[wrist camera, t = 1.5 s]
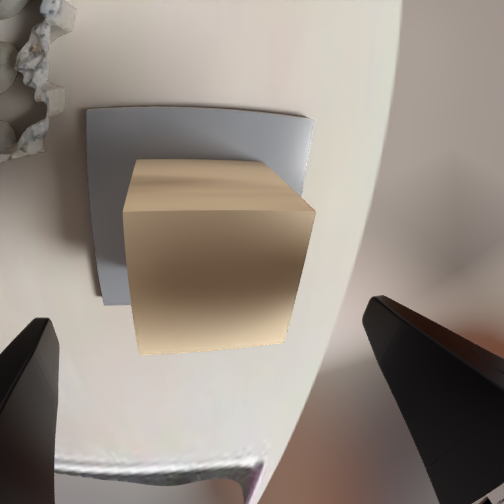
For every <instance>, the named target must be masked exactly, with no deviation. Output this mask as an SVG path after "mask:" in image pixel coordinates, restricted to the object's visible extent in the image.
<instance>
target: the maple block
mask: <svg viewBox="0 0 504 504" xmlns="http://www.w3.org/2000/svg"><path fill="white" fill-rule="evenodd" d="M315 214H316V211H315V210H314V209H313V208H312V207H311V206H310V205H309V204H308V203H307V202H306V201H305V200H304V199H303V198H301V197H300V196H299V195H298V194H297V193H296V192H295V191H294V190H293V189H292V188H291V187H290V186H289V185H288V184H286V183H285V182H284V181H283V180H282V179H281V178H280V177H279V176H278V175H277V174H276V173H275V172H273V171H272V170H271V169H270V168H269V167H268V166H267V165H266V164H265V163H263V162H257V161H237V160H207V159H137V160H136V163H135V167H134V170H133V174H132V177H131V181H130V185H129V189H128V192H127V196H126V200H125V204H124V208H123V227H124V241H125V253H126V264H127V273H128V282H129V291H130V299H131V306H132V314H133V320H134V327H135V333H136V339H137V345H138V351H139V355H154V354H173V353H189V352H202V351H214V350H225V349H235V348H245V347H254V346H262V345H270V344H278V343H284V340H285V337H286V333H287V329H288V325H289V322H290V318H291V314H292V310H293V306H294V302H295V299H296V295H297V291H298V287H299V283H300V278H301V274H302V270H303V266H304V262H305V258H306V254H307V249H308V245H309V241H310V236H311V232H312V227H313V223H314V218H315Z"/></svg>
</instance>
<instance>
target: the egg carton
mask: <svg viewBox="0 0 504 504" xmlns="http://www.w3.org/2000/svg"><path fill="white" fill-rule="evenodd" d="M28 1H29V0H0V20H1V19H7V18H10V17H13V16H14V15H16V14H17V13H18V12H20V11H21V10H22V9H23V8H24V6H25V5H26V4H27V2H28ZM39 9H40V13H41V14H42V15H43V16H44V17H45V20H44V21H43V22H41V23H39V24H37V25H35V26H34V27H32V30H31V34H30V38H29V41H28V42H27V43H26V44H25V45H24V46H23V48H22V49H21V50H20V51H19V53H18V51H17V49H16V48H15V47H14V46H13V45H12V44H11V43H7V42H0V93H3V92H5V91H6V90H7V89H8V88H9V87H10V86H11V85H12V84H13V82H14V81H15V79H16V77H17V74H18V71H19V72H21V73H22V74H23V76H24V79H23V82H24V84H25V85H27V86H29V87H32V88H34V89H35V93H34V100H35V102H43V103H45V104H46V106H47V115H46V118H45V119H43V120H41V121H39V122H37V123H34V124H32V125H31V126H29V127H28V128H27V129H26V130H25V131H24V132H23V134H22V136H21V138H20V139H19V141H18V142H17V140H16V136H15V133H14V131H13V129H12V128H11V126H10V125H9V124H8V123H7V122H6V121H2V120H0V163H1V162H4V161H8V160H11V159H15V158H19V157H23V156H27V155H34V154H38V153H42V152H45V151H46V149H45V148H44V147H43V139H44V136H45V134H46V132H47V131H48V129H49V118H51V117H52V116H54V115H56V114H59V113H61V112H63V111H64V104H65V88H64V87H59V86H55V85H53V84H51V83H50V82H49V81H48V80H47V79H48V75H49V65H48V61H47V58H46V54H47V52H48V49H49V46H50V44H51V43H52V42H53V41H54V40H56V39H57V38H58V37H60V36H61V35H64V34H66V33H69V32H71V31H72V29H73V27H74V21H75V16H76V8H75V7H74V6H72V5H70V4H69V3H68V2H66V1H65V0H42V2H41V5H40V7H39Z"/></svg>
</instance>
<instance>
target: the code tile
mask: <svg viewBox="0 0 504 504" xmlns="http://www.w3.org/2000/svg"><path fill="white" fill-rule="evenodd" d="M314 122H315V120H313V119H311V118H306V117H299V116H292V115H285V114H276V113H268V112H258V111H248V110H236V109H222V108H204V107H171V106H144V107H112V108H95V109H89V110H87V113H86V146H87V174H88V190H89V203H90V214H91V224H92V233H93V241H94V249H95V256H96V263H97V269H98V276H99V282H100V287H101V293H102V298H103V303H104V305H131V299H130V291H129V282H128V273H127V264H126V253H125V241H124V227H123V208H124V204H125V200H126V196H127V192H128V189H129V185H130V181H131V177H132V174H133V170H134V167H135V163H136V160H137V159H207V160H237V161H257V162H263V163H265V164H266V165H267V166H268V167H269V168H270V169H271V170H272V171H273V172H275V173H276V174H277V175H278V176H279V177H280V178H281V179H282V180H283V181H284V182H285V183H286V184H288V185H289V186H290V187H291V188H292V189H293V190H294V191H295V192H296V193H297V194H298V195H299V196H300V197H301V194H302V189H303V184H304V178H305V173H306V167H307V162H308V156H309V151H310V145H311V139H312V134H313V128H314Z"/></svg>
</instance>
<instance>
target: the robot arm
mask: <svg viewBox="0 0 504 504" xmlns="http://www.w3.org/2000/svg"><path fill="white" fill-rule="evenodd" d="M362 322H363V326H364V328H365V331H366V334H367V336H368V339H369V342H370V344H371V347H372V349H373V352H374V355H375V357H376V360H377V362H378V365H379V367H380V369H381V371H382V373H383V375H384V377H385V380H386V381H387V383H388V385H389V388H390V390H391V392H392V394H393V396H394V398H395V400H396V402H397V405H398V407H399V409H400V411H401V413H402V416H403V418H404V420H405V422H406V424H407V427H408V429H409V431H410V433H411V435H412V438H413V440H414V442H415V445H416V447H417V449H418V452H419V454H420V456H421V459H422V461H423V463H424V466H425V468H426V471H427V473H428V476H429V478H430V481H431V483H432V486H433V488H434V491H435V493H436V496H437V498H438V501H439V503H440V504H472V503H473V502H475V501H477V500H478V499H480V498H482V497H483V496H485V495H487V497H486V498H484V499H483V500H482V501H481V502H480V503H479V504H504V358H501V357H499V356H497V355H495V354H493V353H491V352H490V351H488V350H486V349H484V348H482V347H480V346H478V345H477V344H474V343H473V342H471V341H469V340H467V339H465V338H463V337H462V336H460V335H458V334H456V333H454V332H452V331H450V330H449V329H447V328H445V327H443V326H441V325H439V324H437V323H436V322H434V321H431V320H430V319H428V318H426V317H424V316H422V315H420V314H419V313H417V312H415V311H413V310H411V309H409V308H407V307H405V306H403V305H401V304H399V303H397V302H396V301H394V300H392V299H390V298H388V297H386V296H384V295H380V296H373V297H372V298H371V299H370V300H369V303H368V305H367V308H366V310H365V312H364V315H363V318H362ZM58 372H59V341H58V338H57V336H56V333H55V330H54V327H53V324H52V322H51V320H50V319H49V318H35V319H33V320H32V321H31V322H30V323H29V324H28V325H27V326H26V327H25V328H24V329H23V330H22V332H21V333H20V334H19V335H18V336H17V337H16V338H15V339H14V340H13V341H12V342H11V343H10V344H9V345H8V346H7V347H6V348H5V349H4V351H3V352H2V353H1V354H0V504H55V500H54V499H55V498H54V454H55V433H56V419H57V408H58Z"/></svg>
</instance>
